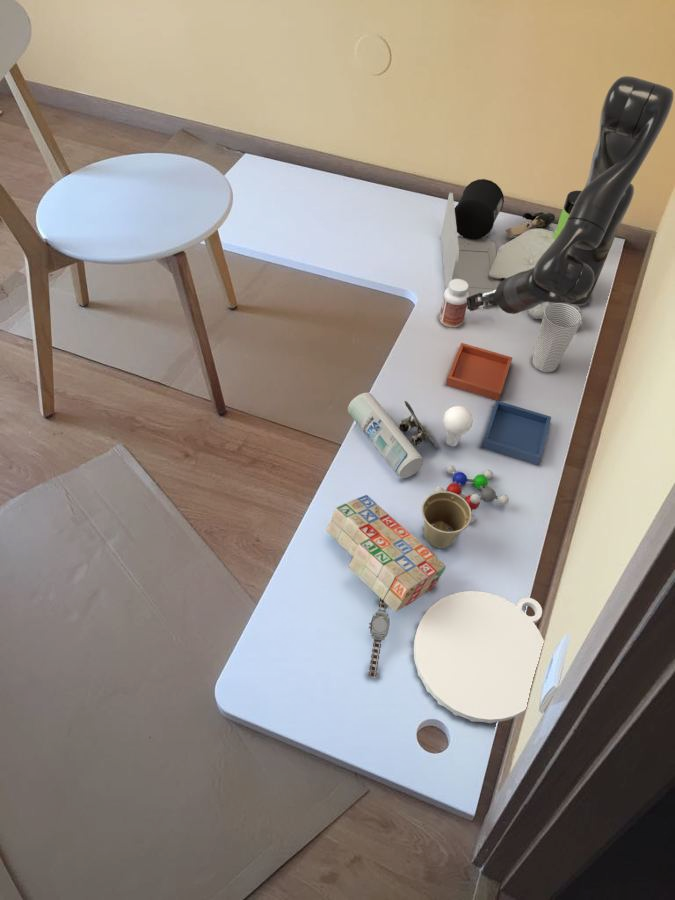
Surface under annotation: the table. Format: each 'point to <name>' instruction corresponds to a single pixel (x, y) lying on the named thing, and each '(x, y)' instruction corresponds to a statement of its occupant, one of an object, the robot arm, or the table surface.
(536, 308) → the decorative stone
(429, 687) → the medallion
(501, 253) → the grey flat irregular slab
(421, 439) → the decorative picture frame
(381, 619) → the wristwatch
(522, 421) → the blue tray
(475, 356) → the red tray
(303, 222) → the table surface
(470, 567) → the table surface
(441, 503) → the flower pot
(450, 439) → the lightbulb
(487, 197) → the container
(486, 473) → the molecule model
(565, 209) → the tumbler
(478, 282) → the game console
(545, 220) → the toy figure
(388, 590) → the stack of blocks
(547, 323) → the cup
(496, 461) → the table surface
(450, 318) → the pill bottle
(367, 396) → the spray can
